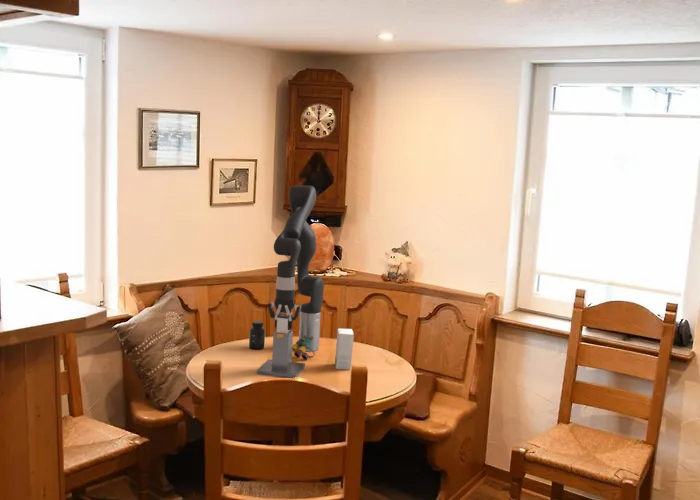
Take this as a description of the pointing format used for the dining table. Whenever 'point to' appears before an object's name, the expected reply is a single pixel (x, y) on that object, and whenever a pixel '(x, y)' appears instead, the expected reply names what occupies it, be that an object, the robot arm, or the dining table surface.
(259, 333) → the supplement bottle
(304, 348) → the binoculars
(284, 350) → the stand
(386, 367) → the dining table surface
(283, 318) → the column
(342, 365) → the skincare box
